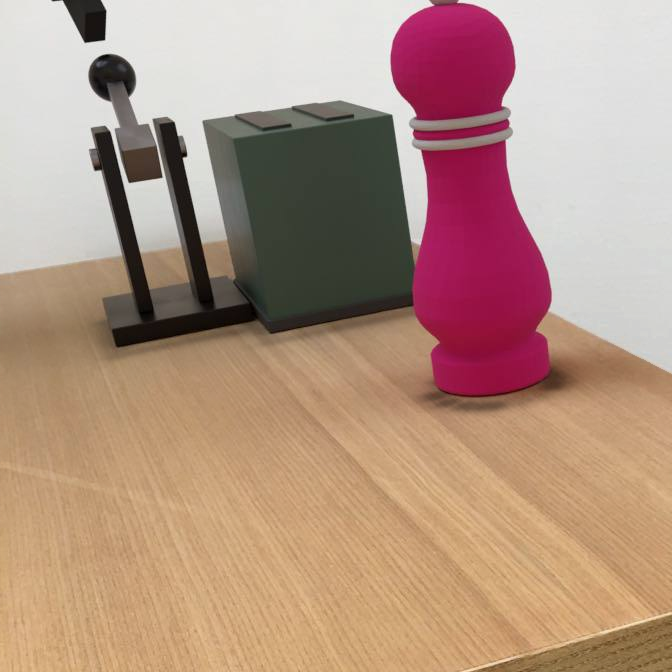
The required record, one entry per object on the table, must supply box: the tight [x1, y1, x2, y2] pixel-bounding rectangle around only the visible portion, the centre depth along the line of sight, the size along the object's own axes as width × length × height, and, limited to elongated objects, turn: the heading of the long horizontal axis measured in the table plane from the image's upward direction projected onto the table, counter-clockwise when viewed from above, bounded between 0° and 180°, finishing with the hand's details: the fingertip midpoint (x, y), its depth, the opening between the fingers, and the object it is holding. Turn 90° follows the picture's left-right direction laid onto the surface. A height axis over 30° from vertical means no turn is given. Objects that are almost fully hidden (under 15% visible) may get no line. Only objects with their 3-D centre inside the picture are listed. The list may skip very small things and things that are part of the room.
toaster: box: [201, 100, 416, 334], centre depth 83 cm, size 14×10×12 cm
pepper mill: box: [389, 0, 553, 396], centre depth 61 cm, size 7×7×20 cm
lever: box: [87, 53, 164, 184], centre depth 83 cm, size 13×3×3 cm, turn 22°
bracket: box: [88, 116, 254, 348], centre depth 82 cm, size 10×9×13 cm
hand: (95, 26), depth 86 cm, fingers closed
